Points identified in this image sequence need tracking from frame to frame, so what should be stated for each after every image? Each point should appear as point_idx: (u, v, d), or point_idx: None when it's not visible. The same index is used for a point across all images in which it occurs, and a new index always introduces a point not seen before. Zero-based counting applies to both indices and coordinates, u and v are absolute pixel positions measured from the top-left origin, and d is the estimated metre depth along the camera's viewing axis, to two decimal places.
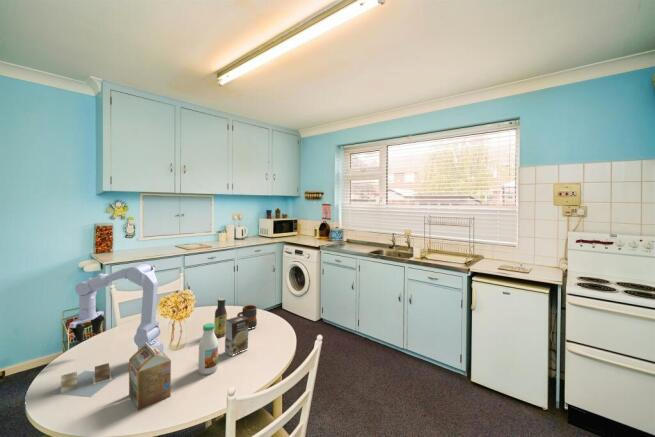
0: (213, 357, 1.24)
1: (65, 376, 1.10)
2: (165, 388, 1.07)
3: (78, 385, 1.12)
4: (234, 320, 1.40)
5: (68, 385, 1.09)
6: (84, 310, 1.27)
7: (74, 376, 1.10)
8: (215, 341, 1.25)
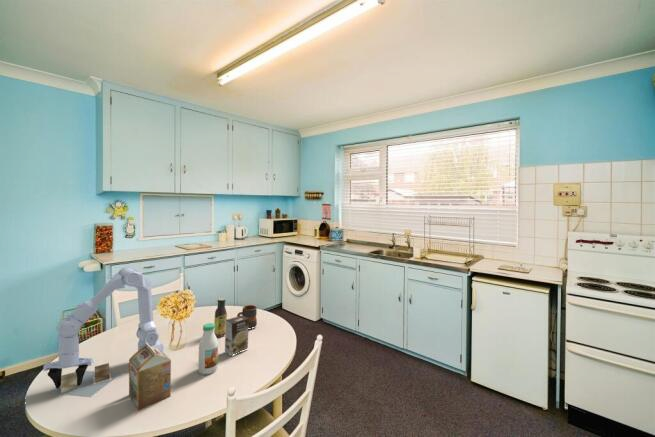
0: (213, 357, 1.24)
1: (65, 376, 1.10)
2: (165, 388, 1.07)
3: None
4: (234, 320, 1.40)
5: (68, 385, 1.09)
6: None
7: (74, 376, 1.10)
8: (215, 341, 1.25)
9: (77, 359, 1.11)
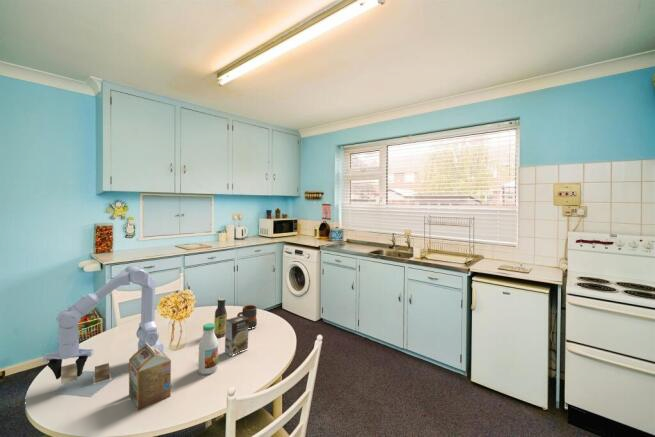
0: (213, 357, 1.24)
1: (65, 367, 1.10)
2: (165, 388, 1.07)
3: (78, 385, 1.12)
4: (234, 320, 1.40)
5: (69, 376, 1.09)
6: None
7: (74, 367, 1.10)
8: (215, 341, 1.25)
9: (77, 350, 1.10)
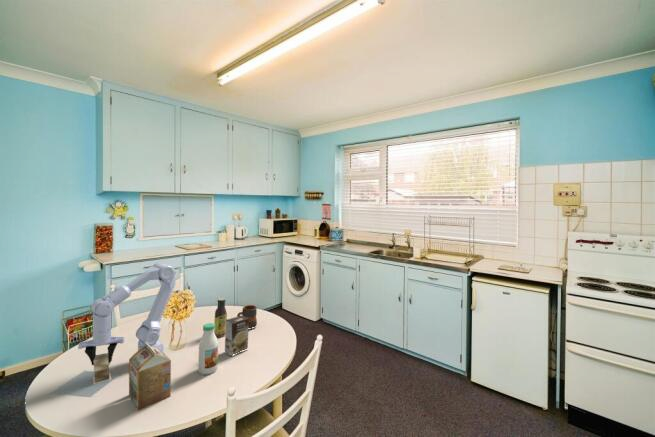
0: (213, 357, 1.24)
1: (98, 356, 1.17)
2: (165, 388, 1.07)
3: (78, 385, 1.12)
4: (234, 320, 1.40)
5: (100, 365, 1.15)
6: (93, 332, 1.14)
7: (106, 357, 1.16)
8: (215, 341, 1.25)
9: (110, 337, 1.17)
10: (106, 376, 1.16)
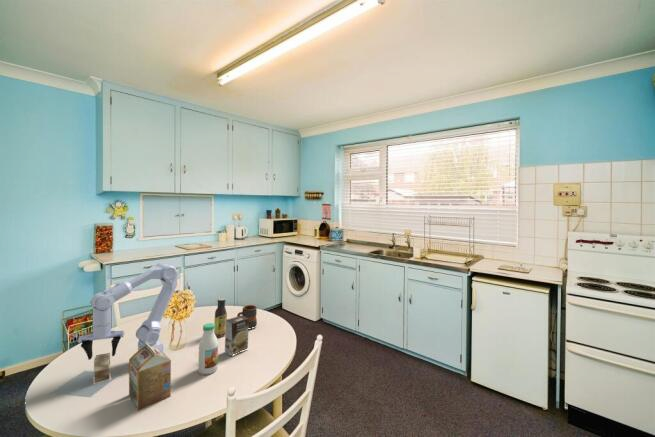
0: (213, 357, 1.24)
1: (99, 356, 1.17)
2: (165, 388, 1.07)
3: (78, 385, 1.12)
4: (234, 320, 1.40)
5: (101, 365, 1.15)
6: (93, 326, 1.14)
7: (106, 357, 1.16)
8: (215, 341, 1.25)
9: (110, 331, 1.17)
10: (106, 376, 1.16)
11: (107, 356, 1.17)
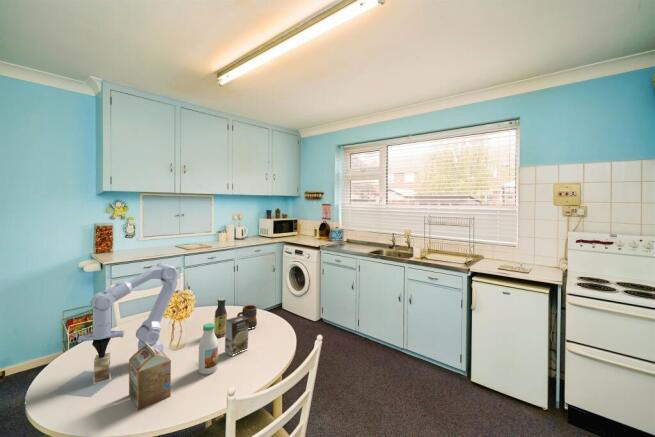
0: (213, 357, 1.24)
1: None
2: (165, 388, 1.07)
3: (78, 385, 1.12)
4: (234, 320, 1.40)
5: (101, 365, 1.15)
6: (93, 326, 1.14)
7: (106, 357, 1.16)
8: (215, 341, 1.25)
9: (110, 331, 1.17)
10: (106, 376, 1.16)
11: (107, 356, 1.17)
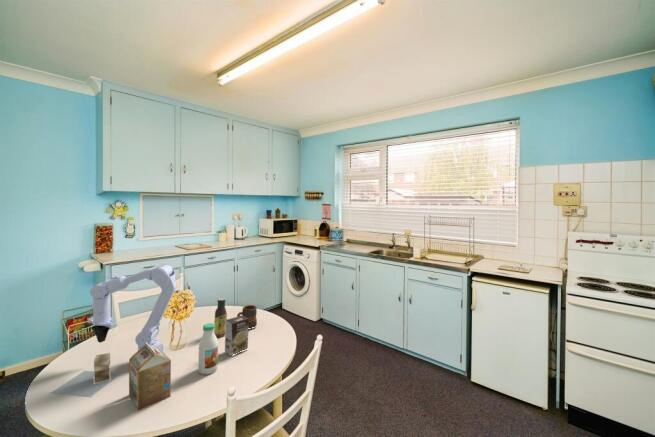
0: (213, 357, 1.24)
1: (99, 356, 1.17)
2: (165, 388, 1.07)
3: (78, 385, 1.12)
4: (234, 320, 1.40)
5: (101, 365, 1.15)
6: None
7: (106, 357, 1.16)
8: (215, 341, 1.25)
9: (105, 320, 1.25)
10: (106, 376, 1.16)
11: (107, 356, 1.17)
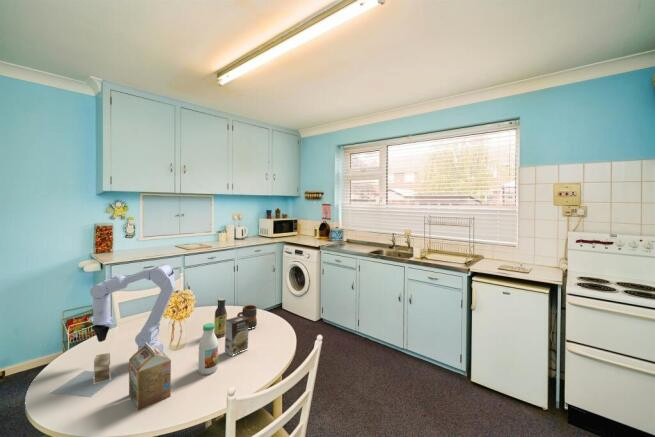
0: (213, 357, 1.24)
1: (99, 356, 1.17)
2: (165, 388, 1.07)
3: (78, 385, 1.12)
4: (234, 320, 1.40)
5: (101, 365, 1.15)
6: None
7: (106, 357, 1.16)
8: (215, 341, 1.25)
9: (105, 319, 1.25)
10: (106, 376, 1.16)
11: (107, 356, 1.17)
